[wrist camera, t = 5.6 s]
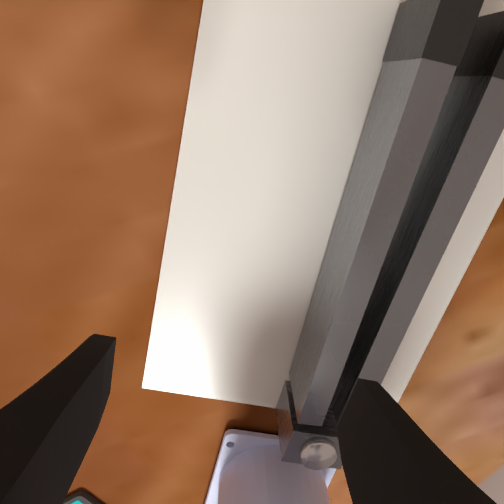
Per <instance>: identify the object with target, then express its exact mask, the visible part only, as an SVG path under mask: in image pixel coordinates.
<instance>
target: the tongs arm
mask: <svg viewBox="0 0 504 504" xmlns="http://www.w3.org/2000/svg"><path fill="white" fill-rule="evenodd" d="M483 2H484V0H407V1H405V2H402V3H400V5H399V8H398V11H397V15H396V18H395V21H394V25H393V28H392V31H391V34H390V38H389V41H388V44H387V48H386V51H385V54H384V57H383V62H384V63H383V66H382V70H381V73H380V76H379V79H378V83H377V86H376V89H375V92H374V96H373V99H372V102H371V106H370V109H369V112H368V115H367V119H366V122H365V125H364V129H363V132H362V135H361V138H360V142H359V145H358V148H357V151H356V155H355V158H354V161H353V165H352V168H351V171H350V174H349V178H348V181H347V184H346V187H345V191H344V194H343V197H342V201H341V204H340V207H339V210H338V214H337V217H336V220H335V224H334V227H333V230H332V233H331V237H330V240H329V243H328V246H327V250H326V253H325V256H324V260H323V263H322V266H321V269H320V273H319V276H318V279H317V282H316V286H315V289H314V292H313V296H312V299H311V302H310V305H309V309H308V312H307V315H306V319H305V322H304V325H303V328H302V332H301V335H300V338H299V341H298V345H297V348H296V351H295V355H294V358H293V361H292V364H291V368H290V371H289V376H290V382H291V387H292V393H293V399H294V405H295V411H296V417H297V422H298V424H306V425H314V426H322V424H323V422H324V419H325V416H326V414H327V411H328V408H329V406H330V403H331V400H332V398H333V395H334V392H335V390H336V387H337V384H338V382H339V379H340V376H341V374H342V371H343V368H344V366H345V363H346V360H347V358H348V355H349V352H350V350H351V347H352V344H353V342H354V339H355V336H356V334H357V331H358V328H359V326H360V323H361V320H362V318H363V315H364V312H365V310H366V307H367V304H368V302H369V299H370V297H371V294H372V291H373V289H374V286H375V283H376V281H377V278H378V275H379V273H380V270H381V267H382V265H383V262H384V259H385V257H386V254H387V251H388V249H389V246H390V243H391V241H392V238H393V235H394V233H395V230H396V227H397V225H398V222H399V219H400V217H401V214H402V211H403V209H404V206H405V203H406V201H407V198H408V195H409V193H410V190H411V187H412V185H413V182H414V179H415V177H416V174H417V171H418V169H419V166H420V163H421V161H422V158H423V155H424V153H425V150H426V147H427V145H428V142H429V139H430V137H431V134H432V131H433V129H434V126H435V123H436V121H437V118H438V115H439V113H440V110H441V107H442V105H443V102H444V99H445V97H446V94H447V91H448V89H449V86H450V84H451V81H452V78H453V76H454V73H455V70H456V68H457V67H459V66H460V63H461V61H462V58H463V55H464V53H465V50H466V47H467V45H468V42H469V39H470V37H471V34H472V31H473V29H474V26H475V24H476V21H477V18H478V16H479V13H480V10H481V8H482V5H483Z"/></svg>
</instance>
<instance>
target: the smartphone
mask: <svg viewBox="0 0 504 504" xmlns="http://www.w3.org/2000/svg"><path fill="white" fill-rule="evenodd" d="M62 504H102V503H100V502H99V501H98V500H96V499H95V498H94V497H92V496H91V495H90V494H88V493H87V492H85V491H78V492H76V493H74V494H72V495H71V496H69V497H67V498H65V499H64V501H63V503H62Z"/></svg>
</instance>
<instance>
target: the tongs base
mask: <svg viewBox="0 0 504 504" xmlns="http://www.w3.org/2000/svg"><path fill="white" fill-rule="evenodd" d="M503 129H504V11H501V12H496V13H492V14H488V15H484V16H480V17H478V18H477V21H476V24H475V26H474V29H473V31H472V34H471V37H470V39H469V42H468V45H467V47H466V50H465V53H464V55H463V58H462V61H461V63H460V66H459V67H457V68H456V70H455V73H454V76H453V78H452V81H451V84H450V86H449V89H448V91H447V94H446V97H445V99H444V102H443V105H442V107H441V110H440V113H439V115H438V118H437V121H436V123H435V126H434V129H433V131H432V134H431V137H430V139H429V142H428V145H427V147H426V150H425V153H424V155H423V158H422V161H421V163H420V166H419V169H418V171H417V174H416V177H415V179H414V182H413V185H412V187H411V190H410V193H409V195H408V198H407V201H406V203H405V206H404V209H403V211H402V214H401V217H400V219H399V222H398V225H397V227H396V230H395V233H394V235H393V238H392V241H391V243H390V246H389V249H388V251H387V254H386V257H385V259H384V262H383V265H382V267H381V270H380V273H379V275H378V278H377V281H376V283H375V286H374V289H373V291H372V294H371V297H370V299H369V302H368V304H367V307H366V310H365V312H364V315H363V318H362V320H361V323H360V326H359V328H358V331H357V334H356V336H355V339H354V342H353V344H352V347H351V350H350V352H349V355H348V358H347V360H346V363H345V366H344V368H343V371H342V374H341V376H340V379H339V382H338V384H337V387H336V390H335V392H334V395H333V398H332V400H331V403H330V406H329V408H328V411H327V414H326V416H325V419H324V422H323V424H322V426H314V425H306V424H298V422H297V417H296V411H295V405H294V399H293V393H292V387H291V382H290V381H287V380H285V383H284V385H283V388H282V391H281V394H280V397H279V400H278V403H277V406H276V417H277V426H278V435H279V443H280V452H281V461H283V462H290V463H297V464H303V465H304V466H305V467H307V468H309V469H312V470H323V469H326V468H334V469H341V467H342V461H341V455H340V448H339V441H338V434H337V425H338V422H339V420H340V418H341V416H342V413H343V411H344V409H345V407H346V404H347V402H348V400H349V398H350V395H351V393H352V391H353V389H354V386H355V384H356V382H357V380H358V378H360V379H366V380H372V381H377V382H378V383H379V384H380V385H381V384H382V381H383V379H384V377H385V375H386V373H387V371H388V369H389V367H390V365H391V363H392V361H393V359H394V356H395V354H396V352H397V350H398V348H399V346H400V344H401V342H402V340H403V338H404V336H405V334H406V331H407V329H408V327H409V325H410V323H411V321H412V319H413V317H414V315H415V313H416V311H417V309H418V306H419V304H420V302H421V300H422V298H423V296H424V294H425V292H426V290H427V288H428V286H429V284H430V281H431V279H432V277H433V275H434V273H435V271H436V269H437V267H438V265H439V263H440V261H441V259H442V256H443V254H444V252H445V250H446V248H447V246H448V244H449V242H450V240H451V238H452V236H453V234H454V231H455V229H456V227H457V225H458V223H459V221H460V219H461V217H462V215H463V213H464V211H465V209H466V206H467V204H468V202H469V200H470V198H471V196H472V194H473V192H474V190H475V188H476V186H477V184H478V181H479V179H480V177H481V175H482V173H483V171H484V169H485V167H486V165H487V163H488V161H489V159H490V156H491V154H492V152H493V150H494V148H495V146H496V144H497V142H498V140H499V138H500V136H501V134H502V131H503Z"/></svg>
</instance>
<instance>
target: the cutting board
mask: <svg viewBox="0 0 504 504" xmlns="http://www.w3.org/2000/svg"><path fill="white" fill-rule="evenodd" d="M405 1H407V0H204V1H203V7H202V14H201V20H200V26H199V32H198V39H197V45H196V51H195V58H194V64H193V70H192V76H191V83H190V89H189V95H188V102H187V108H186V114H185V120H184V127H183V133H182V139H181V146H180V152H179V158H178V164H177V171H176V177H175V183H174V189H173V196H172V202H171V208H170V215H169V221H168V227H167V233H166V240H165V246H164V252H163V259H162V265H161V271H160V277H159V284H158V290H157V296H156V303H155V309H154V315H153V321H152V328H151V334H150V340H149V347H148V353H147V359H146V365H145V372H144V378H143V384H142V388H146V389H153V390H159V391H166V392H172V393H179V394H185V395H192V396H199V397H205V398H212V399H218V400H225V401H231V402H238V403H244V404H251V405H257V406H264V407H270V408H276V406H277V403H278V400H279V397H280V394H281V391H282V388H283V385H284V383H285V380H287V381H290V376H289V371H290V368H291V364H292V361H293V358H294V355H295V351H296V348H297V345H298V341H299V338H300V335H301V332H302V328H303V325H304V322H305V319H306V315H307V312H308V309H309V305H310V302H311V299H312V296H313V292H314V289H315V286H316V282H317V279H318V276H319V273H320V269H321V266H322V263H323V260H324V256H325V253H326V250H327V246H328V243H329V240H330V237H331V233H332V230H333V227H334V224H335V220H336V217H337V214H338V210H339V207H340V204H341V201H342V197H343V194H344V191H345V187H346V184H347V181H348V178H349V174H350V171H351V168H352V165H353V161H354V158H355V155H356V151H357V148H358V145H359V142H360V138H361V135H362V132H363V129H364V125H365V122H366V119H367V115H368V112H369V109H370V106H371V102H372V99H373V96H374V92H375V89H376V86H377V83H378V79H379V76H380V73H381V70H382V66H383V63H384V62H383V57H384V54H385V51H386V48H387V44H388V41H389V38H390V34H391V31H392V28H393V25H394V21H395V18H396V15H397V11H398V8H399V5H400V3H402V2H405ZM501 11H504V0H484V2H483V5H482V8H481V10H480V13H479V16H478V17H480V16H484V15H488V14H492V13H496V12H501ZM503 198H504V129H503V131H502V134H501V136H500V138H499V140H498V142H497V144H496V146H495V148H494V150H493V152H492V154H491V156H490V159H489V161H488V163H487V165H486V167H485V169H484V171H483V173H482V175H481V177H480V179H479V181H478V184H477V186H476V188H475V190H474V192H473V194H472V196H471V198H470V200H469V202H468V204H467V206H466V209H465V211H464V213H463V215H462V217H461V219H460V221H459V223H458V225H457V227H456V229H455V231H454V234H453V236H452V238H451V240H450V242H449V244H448V246H447V248H446V250H445V252H444V254H443V256H442V259H441V261H440V263H439V265H438V267H437V269H436V271H435V273H434V275H433V277H432V279H431V281H430V284H429V286H428V288H427V290H426V292H425V294H424V296H423V298H422V300H421V302H420V304H419V306H418V309H417V311H416V313H415V315H414V317H413V319H412V321H411V323H410V325H409V327H408V329H407V331H406V334H405V336H404V338H403V340H402V342H401V344H400V346H399V348H398V350H397V352H396V354H395V356H394V359H393V361H392V363H391V365H390V367H389V369H388V371H387V373H386V375H385V377H384V379H383V381H382V384H381V386H382V387H383V388H384V389H385V390H386V391H387V392H388V393H389V394H390V395H391V396H392V398H393V399H394V400H395V401H396V402H397V403H398V402H399V400H400V398H401V396H402V394H403V392H404V390H405V388H406V386H407V384H408V382H409V380H410V378H411V376H412V374H413V372H414V371H415V369H416V367H417V365H418V363H419V361H420V359H421V357H422V355H423V353H424V351H425V349H426V347H427V345H428V343H429V341H430V339H431V338H432V336H433V334H434V332H435V330H436V328H437V326H438V324H439V322H440V320H441V318H442V316H443V314H444V312H445V310H446V308H447V306H448V305H449V303H450V301H451V299H452V297H453V295H454V293H455V291H456V289H457V287H458V285H459V283H460V281H461V279H462V277H463V275H464V273H465V272H466V270H467V268H468V266H469V264H470V262H471V260H472V258H473V256H474V254H475V252H476V250H477V248H478V246H479V244H480V242H481V240H482V239H483V237H484V235H485V233H486V231H487V229H488V227H489V225H490V223H491V221H492V219H493V217H494V215H495V213H496V211H497V209H498V207H499V206H500V204H501V202H502V200H503Z"/></svg>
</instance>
